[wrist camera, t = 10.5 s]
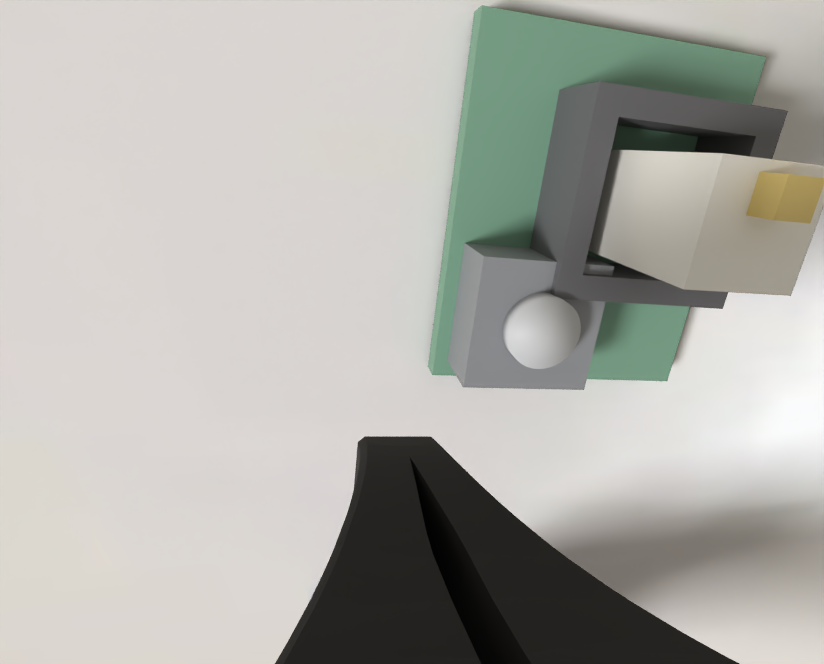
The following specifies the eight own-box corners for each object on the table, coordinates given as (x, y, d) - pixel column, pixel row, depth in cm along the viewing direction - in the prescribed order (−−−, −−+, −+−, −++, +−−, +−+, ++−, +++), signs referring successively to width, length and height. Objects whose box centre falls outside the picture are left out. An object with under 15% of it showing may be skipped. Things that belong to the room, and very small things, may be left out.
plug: (650, 249, 19) (818, 305, 12) (571, 243, 18) (706, 298, 12) (674, 158, 18) (871, 169, 11) (591, 149, 17) (751, 154, 11)
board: (654, 372, 22) (716, 414, 18) (427, 366, 20) (450, 411, 16) (747, 60, 18) (846, 42, 14) (474, 11, 16) (516, -23, 12)
